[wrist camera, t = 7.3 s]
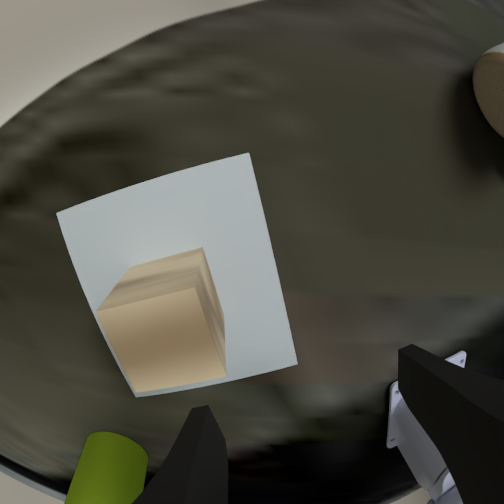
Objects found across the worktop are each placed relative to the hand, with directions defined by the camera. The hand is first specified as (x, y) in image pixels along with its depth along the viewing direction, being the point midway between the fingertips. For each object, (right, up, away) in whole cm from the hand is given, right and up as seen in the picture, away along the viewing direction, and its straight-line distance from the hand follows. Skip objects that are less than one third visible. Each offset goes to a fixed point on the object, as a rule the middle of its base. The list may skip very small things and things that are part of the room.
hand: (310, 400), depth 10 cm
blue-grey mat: (-6, +3, +8) cm, 11 cm away
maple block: (-6, +3, +8) cm, 11 cm away
